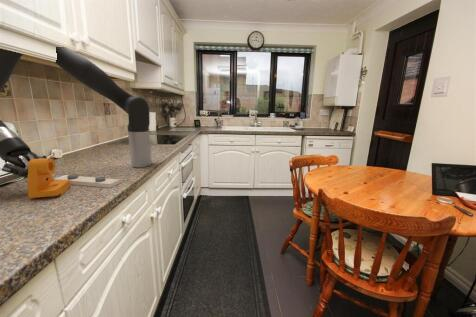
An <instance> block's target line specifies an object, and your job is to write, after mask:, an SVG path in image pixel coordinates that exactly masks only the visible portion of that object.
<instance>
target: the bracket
mask: <svg viewBox="0 0 476 317" xmlns="http://www.w3.org/2000/svg"><path fill="white" fill-rule="evenodd" d="M55 171H56V162H55V160H54V159H53V158H51V157H50V158H49V157H47V158H43V159H31V160H30V161H29V164H28V176H27V195H28V196H27V197H28V199H35V198H48V197H57V196H63V194H64V193H66V192H67V191H68V190H69V188H70V186H71V184H70V180H55V181H54V180H53V179H54V178H53V176H52V175H53V174H54V173H55ZM46 178H48V181H47V180H46Z"/></svg>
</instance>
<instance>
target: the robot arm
mask: <svg viewBox="0 0 476 317" xmlns="http://www.w3.org/2000/svg"><path fill="white" fill-rule="evenodd" d="M56 53H57V60H56V62H54V64H56V65H57V66H58V67H60V69H63V71H65V72H66V73H67V74H68V75H70V76H71V77H73V78H74V79H75V80H77V81H78V82H80V83H81V84H83V85H84V86H86V87H87V88H89V89H91V90H92V91H94V92H95V93H97V94H99V95H101V96H102V97H104V98H106V99H109V100H110V101H111V102H112V103H114V104H115V105H117V106H118V107H119V108H120V109H121V110H123V111H124V112H125V113H126V114H127V115H128V125H127V135H128V145H129V146H128V147H129V155H130V156H129V157H130V166H131V167H132V168H146V167H150V166H151V165H152V163H153V162H152V159H153V158H152V147H151V144H150V143H151V142H150V141H151V140H150V132H149V130H150V129H149V128H150V107H149V103H148V101H147V100H146V99H144V98H143V97H140V96H134V95H132V94H130V93H129V92H127V91H126V90H124V89H123V88H122V87H120V86H119V85H118V84H117V83H116V82H115V81H114V79H112V78H111V77H110V76H109V75H108V74H107V73H106V72H105V71H104V70H102V69H101V67H99V66H97V65H96V64H95V63H93V62H92V61H90V59H88V58H85V56H82V55H81V54H79V53H78V52H76V51H73V50H72V49H70V48H68V47H66V46H65V47H56ZM23 55H24V54H20V53H16V52H12V51H7V50H3V49H0V92H1V91H2V90H3V88H4V87H5V85H6V84H7V82H8V81H9V79H10V78H11V76H12V75H13V72H14V70H15V68H16V67H17V64H18V62H19V61H20V59H21V58H22V56H23ZM43 158H48V157H47V155H42V156H40V155H37V154H36V153H35V152H33V151H32V150H31V148H30V146H29V144H27V143H26V141H24V140H23V139H22V138H21V137H20V136H19V135H18V134H17V133H16V132H15V131H14V130H12V129H11V128H9V126H7V124H6V123H5V122H4V121H2V119H0V159H1V160H2V161H4V165H3V166H2V168H1V169H0V170H1V171H2V172H5V173H8V174H12V175H16V176H18V177H22V178H26V177H28V164H29V161H30V160H31V159H43ZM46 180H47V181H48V178H46Z"/></svg>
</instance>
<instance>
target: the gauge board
mask: <svg viewBox="0 0 476 317" xmlns="http://www.w3.org/2000/svg"><path fill="white" fill-rule="evenodd" d="M53 180H54V181H55V180H70V185H74V186H84V187H85V186H86V187H98V188H108V189H111V188H114V187H115V186H118V185H119V184H120V183H121V182H120V179H115V178H106V177H105V176H97V177H96V176H95V177H93V176H81V175H80V176H79V175H78V174H65V175H61V176H58V177H55V178H53Z"/></svg>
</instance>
